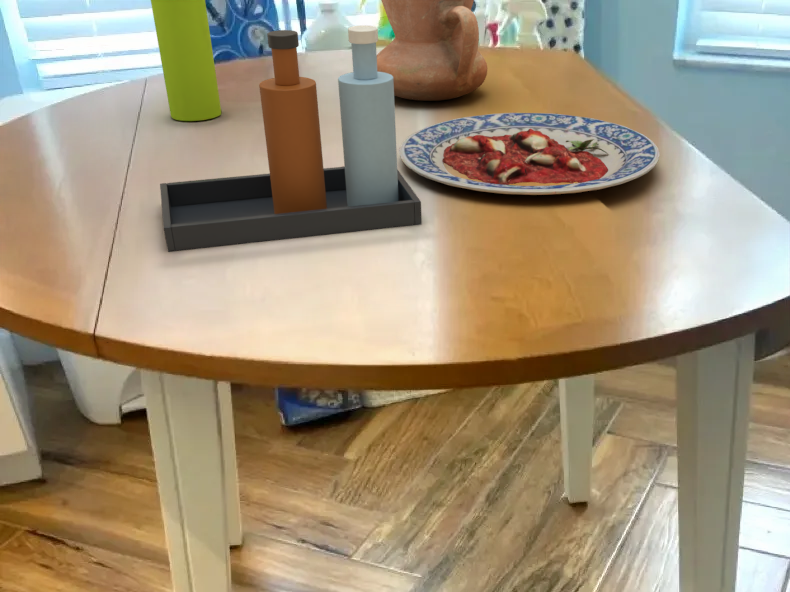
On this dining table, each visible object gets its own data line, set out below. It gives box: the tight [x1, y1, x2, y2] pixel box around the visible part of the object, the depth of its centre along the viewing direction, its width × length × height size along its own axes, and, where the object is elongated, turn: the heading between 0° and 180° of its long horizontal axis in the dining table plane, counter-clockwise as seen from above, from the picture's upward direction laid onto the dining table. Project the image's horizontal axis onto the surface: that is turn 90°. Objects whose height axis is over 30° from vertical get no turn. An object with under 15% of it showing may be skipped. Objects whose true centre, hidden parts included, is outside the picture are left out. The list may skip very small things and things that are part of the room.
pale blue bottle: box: [337, 24, 399, 206], centre depth 82 cm, size 5×5×15 cm
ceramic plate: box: [398, 112, 661, 196], centre depth 96 cm, size 26×26×3 cm
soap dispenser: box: [150, 0, 222, 122], centre depth 108 cm, size 6×7×20 cm
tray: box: [159, 166, 422, 253], centre depth 84 cm, size 21×11×3 cm, turn 106°
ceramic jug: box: [376, 0, 488, 102], centre depth 117 cm, size 18×14×14 cm
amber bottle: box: [258, 29, 327, 214], centre depth 80 cm, size 5×5×15 cm
